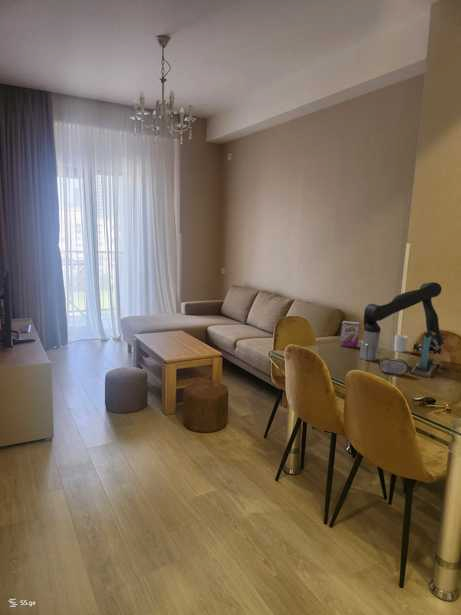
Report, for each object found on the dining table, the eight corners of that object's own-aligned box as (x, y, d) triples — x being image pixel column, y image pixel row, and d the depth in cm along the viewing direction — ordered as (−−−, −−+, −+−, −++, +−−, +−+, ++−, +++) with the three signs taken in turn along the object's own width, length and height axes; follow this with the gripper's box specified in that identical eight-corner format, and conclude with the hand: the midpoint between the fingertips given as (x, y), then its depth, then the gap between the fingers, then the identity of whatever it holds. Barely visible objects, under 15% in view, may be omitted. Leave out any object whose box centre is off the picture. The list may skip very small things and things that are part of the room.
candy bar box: (339, 346, 285) (342, 322, 283) (339, 344, 290) (342, 320, 287) (357, 348, 283) (360, 323, 280) (356, 346, 288) (359, 322, 285)
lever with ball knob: (428, 371, 236) (433, 332, 232) (416, 368, 239) (422, 330, 235) (431, 366, 246) (436, 328, 242) (419, 364, 249) (425, 327, 245)
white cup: (406, 350, 285) (408, 336, 283) (405, 353, 278) (407, 338, 276) (393, 348, 288) (395, 334, 286) (392, 351, 281) (394, 336, 279)
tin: (407, 375, 232) (409, 360, 230) (407, 376, 229) (409, 361, 227) (377, 370, 237) (379, 355, 235) (377, 372, 234) (379, 357, 232)
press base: (429, 377, 229) (431, 369, 229) (410, 373, 235) (411, 365, 234) (437, 364, 256) (438, 356, 256) (419, 360, 261) (420, 353, 261)
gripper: (417, 337, 254) (412, 342, 241) (444, 341, 247) (440, 346, 233) (416, 349, 256) (411, 354, 242) (442, 354, 248) (438, 360, 235)
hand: (425, 351), depth 238 cm, fingers open, 8 cm apart
